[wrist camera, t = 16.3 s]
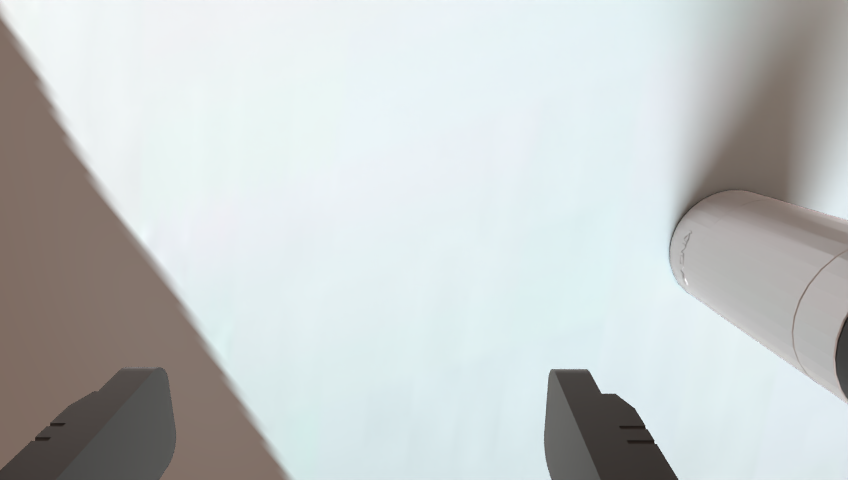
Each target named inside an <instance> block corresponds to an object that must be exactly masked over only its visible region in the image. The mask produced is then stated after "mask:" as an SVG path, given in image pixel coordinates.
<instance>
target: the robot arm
mask: <svg viewBox="0 0 848 480" xmlns="http://www.w3.org/2000/svg"><path fill="white" fill-rule="evenodd" d="M670 264H671V268H672V271H673V275H674V276H675V278H676V280H677V282H678V283H679V285H680V286H681V287H682V288H683V289H684V290H685V291H686V292H687V293H689V294H690V295H692V296H693V297H695V298H696V299H697V300H699V301H700V302H702V303H703V304H705V305H706V306H707V307H709V308H710V309H712V310H713V311H714V312H716V313H717V314H718V315H720V316H721V317H723V318H724V319H726V320H727V321H728V322H730V323H731V324H733V325H734V326H736V327H737V328H739V329H740V330H741V331H743V332H744V333H746V334H747V335H749V336H750V337H752V338H753V339H754V340H756V341H757V342H759V343H760V344H762V345H763V346H764V347H766V348H767V349H769V350H770V351H772V352H773V353H775V354H776V355H777V356H779V357H780V358H782V359H783V360H785V361H786V362H787V363H789V364H790V365H792V366H793V367H795V368H796V369H798V370H799V371H800V372H802V373H803V374H805V375H806V376H808V377H809V378H811V379H812V380H813V381H815V382H816V383H818V384H820V385H821V386H822V387H824V388H825V389H827V390H828V391H830V392H831V393H833V394H834V395H835V396H837V397H838V398H840V399H841V400H843V401H844V402H845V403H847V404H848V220H845V219H842V218H838V217H835V216H831V215H828V214H824V213H821V212H818V211H814V210H811V209H807V208H804V207H801V206H797V205H794V204H790V203H787V202H784V201H781V200H777V199H774V198H771V197H767V196H764V195H760V194H757V193H753V192H749V191H743V190H728V191H723V192H719V193H716V194H713V195H711V196H709V197H707V198H705V199H703V200H701V201H700V202H699V203H697V204H696V205H695V206H693V207H692V208H691V209H690V210H689V211H688V212H687V213H686V214H685V216H684V217H683V218H682V220H681V221H680V223H679V224H678V226H677V228H676V230H675V232H674V235H673V238H672V241H671V247H670ZM175 443H176V430H175V423H174V416H173V409H172V402H171V397H170V389H169V382H168V377H167V373H166V372H165V370H164V369H163V368H160V367H158V368H157V367H125V368H122V369H121V370H119V371H118V372H117V373H116V374H115V375H114V376H113V377H112V378H111V379H110V380H109V381H108V382H107V383H106V384H105V385H104V386H103V387H102V388H101V389H100V390H99V391H98V392H96V391H94V392H92V393H91V394H89V395H87V396H85V397H84V398H82V399H80V400H78V401H77V402H75V403H73V404H71V405H70V406H68V407H67V408H66V409H65V410H64V411H63V412H62V413H61V414H59V416H57V417H56V418H55V419H54V420H53V421H52V422H51V423H50V426H49V427H46V428H45V429H44V430H43V431H41V433H39V434H38V435H37V436H36V438H35V441H31V442H30V443H29V444H28V445H27V446H26V447H25V448H24V449H22V450H21V451H20V452H19V453H18V454H17V455H16V456H15V457H14V458H13V459H12V460H11V461H10V462H9V463H8V464H7V465H6V466H5V467H3V468H2V469H1V470H0V480H159V479H160V477H161V476H162V474H163V473H164V471H165V470H166V468H167V467H168V465H169V463H170V461H171V459H172V456H173V453H174V449H175ZM544 446H545V456H546V462H547V466H548V470H549V473H550V476H551V480H678V478H677V477H676V475H675V473H674V472H673V470H672V468H671V467H670V465H669V464H668V462H667V460H666V459H665V457H664V455H663V454H662V452H661V451H660V449H659V447H658V446H657V444H655V443H654V439H653V438H652V436H651V434H650V433H649V431H648V429H646V428H645V425H644V423H643V421H642V420H641V418H640V416H639V415H638V413H637V412H636V410H635V408H633V407H632V406H631V405H629V404H628V403H627V402H625V401H624V400H623V399H621V398H620V397H619V396H618V395H616V394H601V392H600V390H599V388H598V387H597V385H596V383H595V381H594V379H593V377H592V375H591V374H590V372H589V371H588V370H587V369H552V370H551V371H550V373H549V379H548V391H547V404H546V418H545V431H544Z"/></svg>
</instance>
